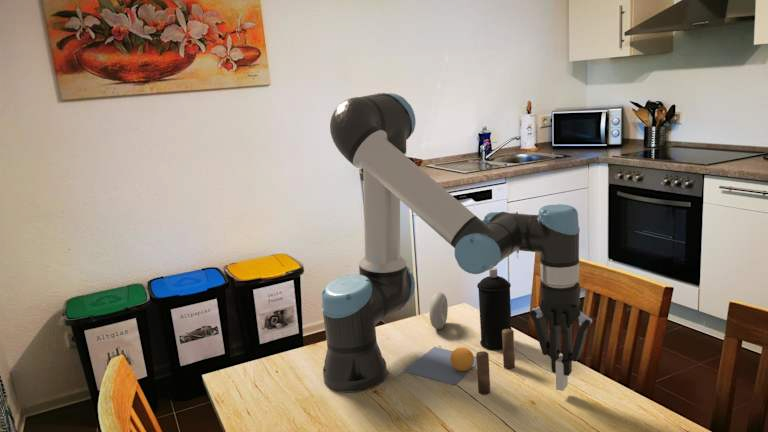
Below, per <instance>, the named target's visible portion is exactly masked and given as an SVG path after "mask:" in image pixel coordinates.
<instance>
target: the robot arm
mask: <svg viewBox="0 0 768 432" xmlns="http://www.w3.org/2000/svg"><path fill="white" fill-rule="evenodd" d="M415 115H416V114H415V111H414V109H413V107H412V106H411V104H410V103H409V102H408V101H407V99H405V97H403V96H401V95H399V94H396V93H390V92H389V93H386V92H382V93H380V92H379V93H374V94H370V95H368V94H367V95H363V96H355V97H351V98H347V99H346V100H343V101H342V102H341V103H339V105H338V106H337V107H336V108H335V109H334V111H333V113H332V115H331V118H330V123H329V124H330V125H329V129H330V130H329V132H330V135H331V138H332V141H333V143H334V145H335V147H336V148H337V150H338V151H339V152H340V154H341V155H342V156H343V157H344V158H345V159H346V160H347V161H348V162H349V163H350V164H351V165H353V166H354V167H355V168H356V169H363V173H362V174H363V209H364V210H363V216H364V217H363V218H364V219H363V221H364V253H365V254H364V256H363V257H362V259H360V260H359V262H358V268H359V270H358V273H359V274H355V273H354V274H348V275H345V276H340V277H337V278H334V279H333V280H331V281H329V282H328V283H327V284H326V285H325V286H324V287H323V290H322V291H321V310H322V314H323V315H322V316H323V325H324V331H325V338H326V347H327V349H326V354H325V358H324V364H323V365H324V366H323V369H322V375H323V378H322V379H323V382H324V384H325V385H326V386H327V387H328V388H330V389H331V390H333V391H338V392H343V393H345V392H346V393H347V392H348V393H354V392H362V391H365V390H369V389H372V388H374V387H376V386H378V385H380V384H381V383H382V382H384V380H385V379H386V377H387V376H388V366H387V362H386V360H385V358H384V357H383V355H382V352H381V350H380V347H379V345H378V341H377V330H376V325H377V324H378V323H380V322H381V321H383V320H384V319H386V318H387V317H389V316H391V315H392V314H394V313H396V312H398V311H400V310H402V308H404V307H405V306H406V305H407V304H408V303H409V302H410V301H411V299H412V297H413V296H414V293H415V288H416V282H415V277H414V275H413V273H411V269H410V268H409V267H408V265H407V261H406V259H405V258H404V257H402V255H401V202H402V203H403V204H404V205H405V206H406V207H407V208H408V209H410V210H411V211H412V212H413V213H414V214H416V215H417V217H419V218H420V219H421V220H422V221H423V222H424V223H425V224H426V225H428V227H430V228H431V229H432V230H433V231H434V232H435V233H437V234H438V235H439V236H440V237H441V238H442V239H443V240H445V242H447V243H448V244H449V245H450V246H451V247H453V248H454V258H455V260H456V263H457V265H458V266H459V267H460V268H461V269H462V271H464V272H466V273H468V274H471V275H481V274H483V273H485V272H487V271H489V269H492V268H495V267H496V266H497V265H499V263H501V261H504V259H506V258H508V257H510V255H512V254H513V253H515V252H516V251H519V252H520V251H521V252H522V251H523V252H531V253H539V263H540V264H539V265H540V267H539V268H540V270H539V271H540V281H541V283H540V299H541V301H540V303H539V306H538V307H537V306H535V307H533V308H532V309H531V310H530V311H528V315H529V316H530V318H531V320H532V321H533V324H534V328H535V331H536V334H537V339H538V343H539V347H540V351H541V353H542V355H543V356H547V357H549V358H550V359H551V360H550V361H551V362H550V363H551V373H554V374H555V389H556V390H557V391H562V392H564V391H565V390H566V388H567V387H568V385H569V384H568V383H569V382H568V377H569V376H570V375H572V374H571V373H572V370H573V369H572V367H573V365H572V362H574V363H575V362H577V361H578V360H579V358H580V357H581V356H582V352H583V350H584V346H585V342H586V337H587V334H588V330H589V327H590V325H591V324H592V323H593V322H594V321H595V320H594V317H593V316H591V315H590V316H589V315H586V314H585V313H583V308H582V306H581V305H580V301H581V300H580V298H581V297H580V295H581V294H580V289H581V287H580V282H579V281H580V225H579V213H578V210H577V209H576V208H575V207H574V206H572V205H569V204H548V205H544V206H542V207H540V209H539V210H538V214H527V213H515V212H514V213H513V212H508V211H507V212H505V211H500V212H498V211H496V212H495V211H494V212H489V213H487V214H485V216H484V219H483V220H482V219H480V218H479V217H478V216H477V215H475V213H473V212H472V211H471V210H469V208H467V206H465V205H464V204H463V203H462V202H460V201H459V200H458V199H457V198H455V197H454V196H453V195H452V194H451V193H450V192H449V191H447V189H445V188H444V187H443V186H442V185H440V184H439V183H438V182H437V181H436V180H434V179H433V178H432V176H430V175H429V174H427V172H425V171H424V170H423V169H422V168H421V167H420V166H419V165H417V164H416V163H415V162H414V161H412V159H410V158H408V156H407V140H409V138H410V137H411V136H412V135H413V133H414V131H415V128H416V116H415ZM544 317H545V318H544ZM545 319H546V320H547V321H548V329H547V324H546V321H545ZM576 320H578V326H579V327H578V330H577V333H576V334H577V335H576V338H575V340H574V341H575V342H574V344H573V326H574V323H575V322H576ZM548 330H549V332H548ZM573 345H574V346H573ZM561 353H562V354H561Z"/></svg>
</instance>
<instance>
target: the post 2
mask: <svg viewBox="0 0 768 432" xmlns="http://www.w3.org/2000/svg"><path fill="white" fill-rule="evenodd" d="M514 331H515V330H513V329H512V328H511V329H504V330H502V341H503V350H502V356H503V357H502V361H503V369H505V370H514V369H515V368H516V359H515V358H516V357H515V356H516V355H515V335H514Z"/></svg>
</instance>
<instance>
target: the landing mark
mask: <svg viewBox="0 0 768 432" xmlns="http://www.w3.org/2000/svg"><path fill="white" fill-rule="evenodd" d="M453 351H454V350H449V349H446V348H441V347H437V346H433V347H432V348H431V349H429V350H428V351H427V352H426V353H424V354H423V355H422V356H421V357H419V358H418V359H416V361H414V362H413V363H411V364H410V365H409V366H407V367H406V368H404V369H403V371H402V372H403V373H406V374H407V373H408V374H410V375H411V374H412V375H415V376H418V377H421V378H427V379H429V380H433V381H436V382H441V383H444V384H447V385H451V386H456V385H457V384H458V383H459V382H461V380H463V378H465V377H466V376H467V375H469V373H471V372H472V370H474V369H475V368H477V359H476V356H475V355H473V356H474V363H473V366H472V367H471V368H470V369H469V370H467V371H458V370H456V369H455V368H454V367H453V366H452V364H451V361H450V357H451V354H452V352H453Z"/></svg>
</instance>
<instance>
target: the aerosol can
mask: <svg viewBox="0 0 768 432" xmlns="http://www.w3.org/2000/svg"><path fill="white" fill-rule="evenodd" d="M488 271H489V273H488V274H489V276H486V277H484V278H482V279H481V280H480V281H479V282H478V283H477V285H476V287H477V289H478V306H479V319H480V320H479V324H480V342H479V344H480V346H481V347H483V348H484V349H486V350H489V351H503V341H502V330H504V329H512V312H511V311H512V310H511V286H512V284H511V283H510V281H508V280H507V279H506V278H504V277H502V276H499V275H498V268H497V267H493V268H492V269H489V270H488Z"/></svg>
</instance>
